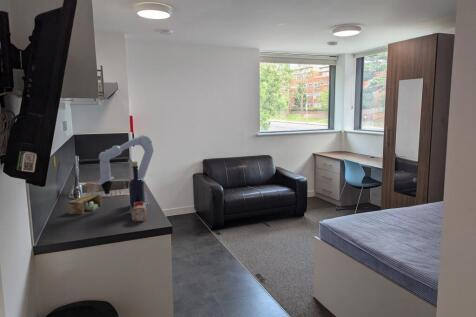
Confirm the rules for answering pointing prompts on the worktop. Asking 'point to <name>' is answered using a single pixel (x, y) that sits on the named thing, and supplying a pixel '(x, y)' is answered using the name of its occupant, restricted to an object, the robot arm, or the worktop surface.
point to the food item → (139, 212)
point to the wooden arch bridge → (78, 204)
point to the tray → (90, 206)
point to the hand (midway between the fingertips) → (107, 193)
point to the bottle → (136, 188)
